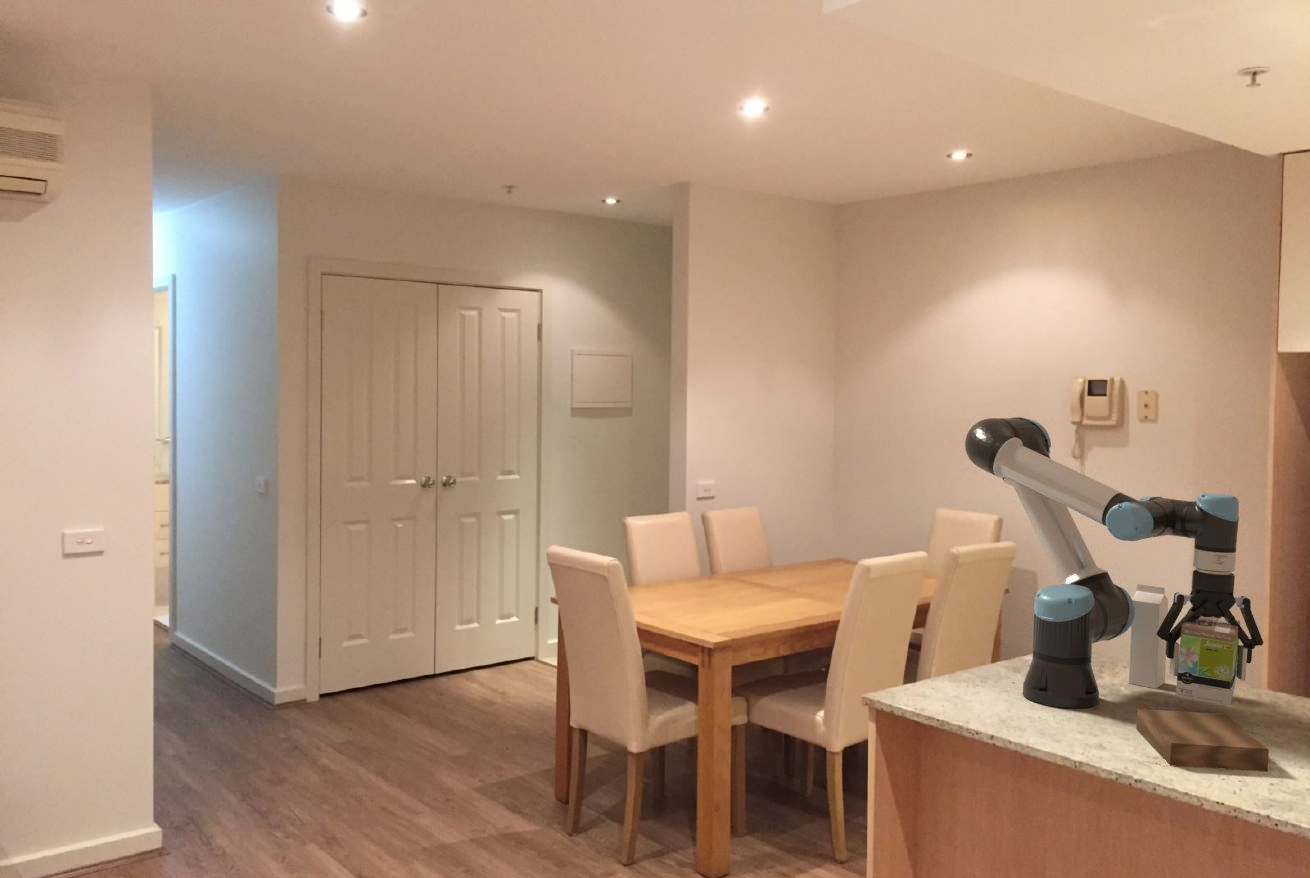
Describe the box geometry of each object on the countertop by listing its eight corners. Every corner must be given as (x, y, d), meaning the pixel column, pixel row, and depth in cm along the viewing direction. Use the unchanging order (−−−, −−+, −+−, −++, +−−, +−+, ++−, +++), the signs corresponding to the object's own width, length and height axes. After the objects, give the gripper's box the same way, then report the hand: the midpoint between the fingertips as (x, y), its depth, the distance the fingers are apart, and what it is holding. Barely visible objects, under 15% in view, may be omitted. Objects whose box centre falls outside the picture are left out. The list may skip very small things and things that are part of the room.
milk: (1156, 689, 238) (1160, 589, 237) (1127, 683, 242) (1131, 585, 241) (1165, 683, 243) (1169, 586, 241) (1137, 678, 247) (1141, 582, 245)
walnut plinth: (1170, 765, 190) (1171, 743, 190) (1136, 729, 210) (1137, 709, 209) (1267, 771, 188) (1268, 748, 187) (1224, 734, 207) (1225, 714, 207)
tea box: (1231, 708, 210) (1236, 632, 209) (1174, 698, 215) (1179, 625, 214) (1236, 689, 223) (1240, 618, 222) (1182, 680, 228) (1186, 611, 227)
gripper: (1155, 570, 216) (1149, 677, 217) (1286, 577, 212) (1279, 686, 214) (1144, 564, 223) (1138, 667, 224) (1270, 570, 219) (1263, 675, 221)
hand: (1206, 676), depth 219 cm, fingers closed on tea box, 12 cm apart
